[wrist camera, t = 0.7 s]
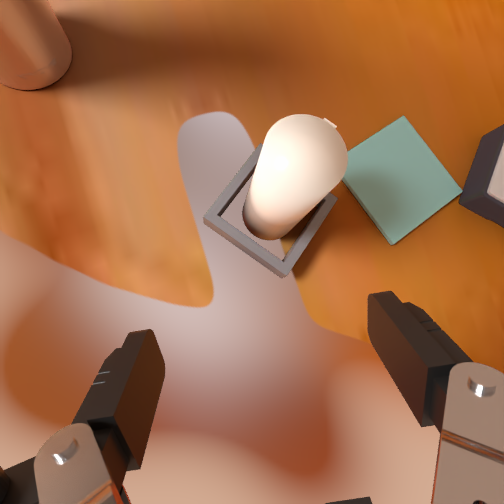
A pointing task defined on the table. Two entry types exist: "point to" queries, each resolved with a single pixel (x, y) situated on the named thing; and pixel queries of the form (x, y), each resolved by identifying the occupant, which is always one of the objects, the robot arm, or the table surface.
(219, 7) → the table surface
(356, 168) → the coaster pad
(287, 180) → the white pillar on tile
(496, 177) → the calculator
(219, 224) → the holder
